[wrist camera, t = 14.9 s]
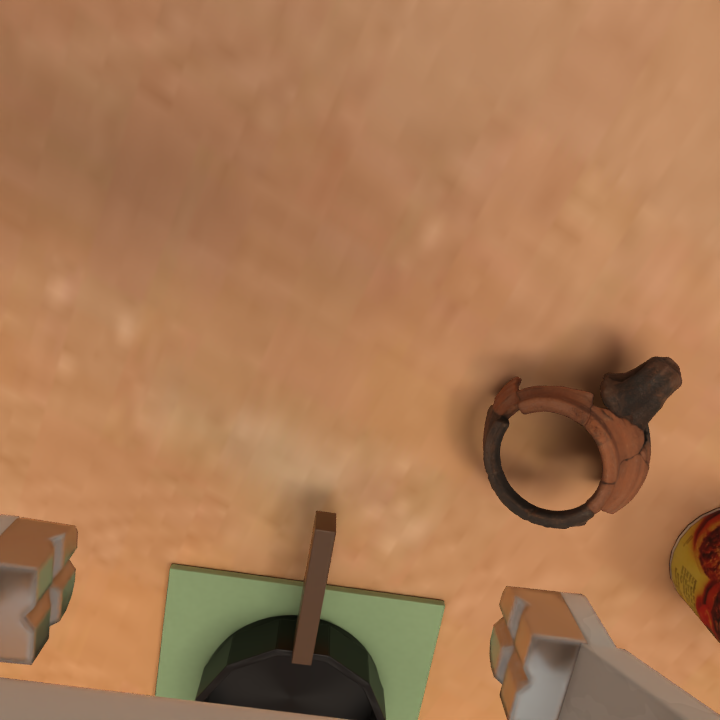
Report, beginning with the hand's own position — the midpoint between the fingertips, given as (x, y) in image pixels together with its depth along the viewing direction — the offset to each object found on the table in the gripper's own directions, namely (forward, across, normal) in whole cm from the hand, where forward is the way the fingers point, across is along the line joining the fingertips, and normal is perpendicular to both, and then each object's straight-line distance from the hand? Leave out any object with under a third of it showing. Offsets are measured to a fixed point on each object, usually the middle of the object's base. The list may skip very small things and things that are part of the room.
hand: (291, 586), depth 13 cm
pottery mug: (+27, -16, +4) cm, 32 cm away
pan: (+26, -2, +22) cm, 34 cm away
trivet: (+27, -2, +26) cm, 38 cm away
